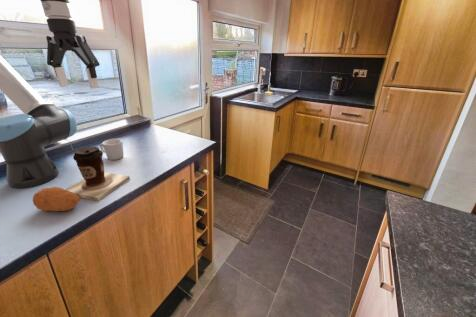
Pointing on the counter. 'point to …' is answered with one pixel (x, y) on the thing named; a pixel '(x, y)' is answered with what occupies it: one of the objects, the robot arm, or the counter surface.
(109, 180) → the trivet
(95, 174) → the coffee cup
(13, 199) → the counter surface
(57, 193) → the potato
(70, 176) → the counter surface
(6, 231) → the counter surface
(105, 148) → the cup
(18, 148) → the robot arm
